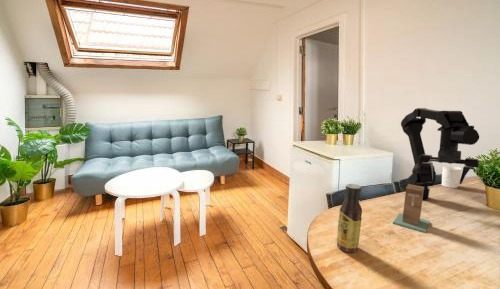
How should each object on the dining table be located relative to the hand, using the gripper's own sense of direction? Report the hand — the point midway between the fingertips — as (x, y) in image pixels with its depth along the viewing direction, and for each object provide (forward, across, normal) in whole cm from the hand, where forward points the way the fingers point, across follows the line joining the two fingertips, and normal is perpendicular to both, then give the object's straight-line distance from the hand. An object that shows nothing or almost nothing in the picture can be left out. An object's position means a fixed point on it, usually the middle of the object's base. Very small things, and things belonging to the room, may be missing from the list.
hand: (445, 182), depth 104 cm
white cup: (+9, -2, +43) cm, 44 cm away
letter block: (+13, -8, -19) cm, 24 cm away
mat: (+14, -7, -19) cm, 25 cm away
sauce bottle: (+16, -18, -51) cm, 57 cm away
